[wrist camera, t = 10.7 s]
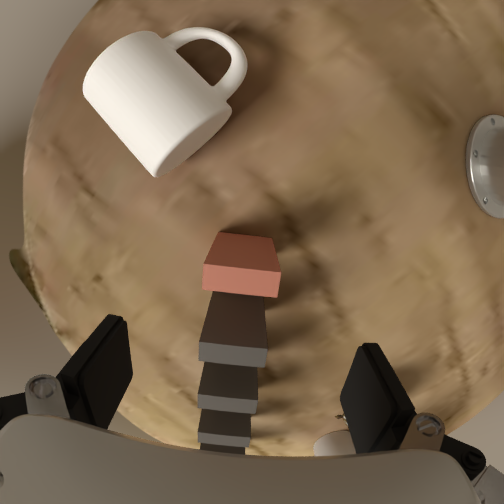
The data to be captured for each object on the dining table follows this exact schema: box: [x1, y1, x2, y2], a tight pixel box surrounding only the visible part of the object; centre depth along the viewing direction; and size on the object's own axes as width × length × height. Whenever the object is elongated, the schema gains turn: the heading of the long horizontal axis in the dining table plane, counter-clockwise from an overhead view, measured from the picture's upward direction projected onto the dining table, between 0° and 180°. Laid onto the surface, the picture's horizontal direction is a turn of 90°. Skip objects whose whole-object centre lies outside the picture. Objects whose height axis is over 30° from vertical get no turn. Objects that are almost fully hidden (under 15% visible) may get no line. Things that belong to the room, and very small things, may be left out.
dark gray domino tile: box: [198, 362, 258, 414], centre depth 27 cm, size 5×2×9 cm, turn 83°
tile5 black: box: [200, 443, 245, 455], centre depth 30 cm, size 5×2×9 cm, turn 83°
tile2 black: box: [199, 291, 268, 367], centre depth 25 cm, size 5×2×9 cm, turn 83°
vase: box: [313, 431, 356, 456], centre depth 28 cm, size 11×7×20 cm, turn 53°
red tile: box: [202, 232, 281, 298], centre depth 24 cm, size 5×2×9 cm, turn 83°
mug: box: [83, 27, 247, 177], centre depth 20 cm, size 12×10×8 cm
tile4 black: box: [198, 409, 251, 447], centre depth 29 cm, size 5×2×9 cm, turn 83°
